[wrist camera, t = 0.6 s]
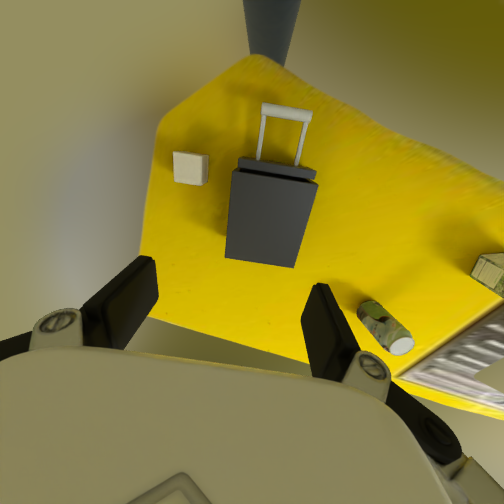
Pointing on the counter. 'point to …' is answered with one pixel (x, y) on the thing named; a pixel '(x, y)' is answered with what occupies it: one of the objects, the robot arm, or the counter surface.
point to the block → (190, 167)
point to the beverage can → (385, 328)
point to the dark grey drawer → (295, 169)
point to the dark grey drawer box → (267, 216)
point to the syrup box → (490, 272)
